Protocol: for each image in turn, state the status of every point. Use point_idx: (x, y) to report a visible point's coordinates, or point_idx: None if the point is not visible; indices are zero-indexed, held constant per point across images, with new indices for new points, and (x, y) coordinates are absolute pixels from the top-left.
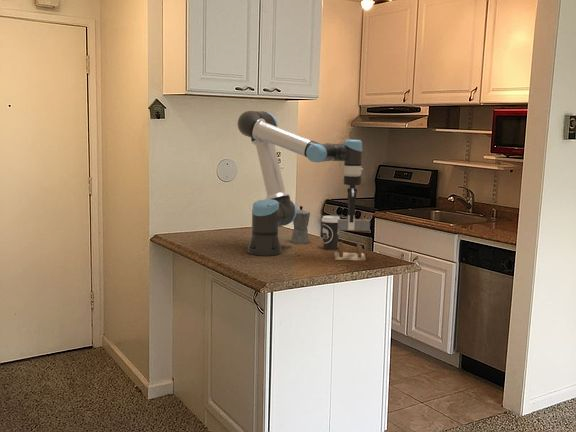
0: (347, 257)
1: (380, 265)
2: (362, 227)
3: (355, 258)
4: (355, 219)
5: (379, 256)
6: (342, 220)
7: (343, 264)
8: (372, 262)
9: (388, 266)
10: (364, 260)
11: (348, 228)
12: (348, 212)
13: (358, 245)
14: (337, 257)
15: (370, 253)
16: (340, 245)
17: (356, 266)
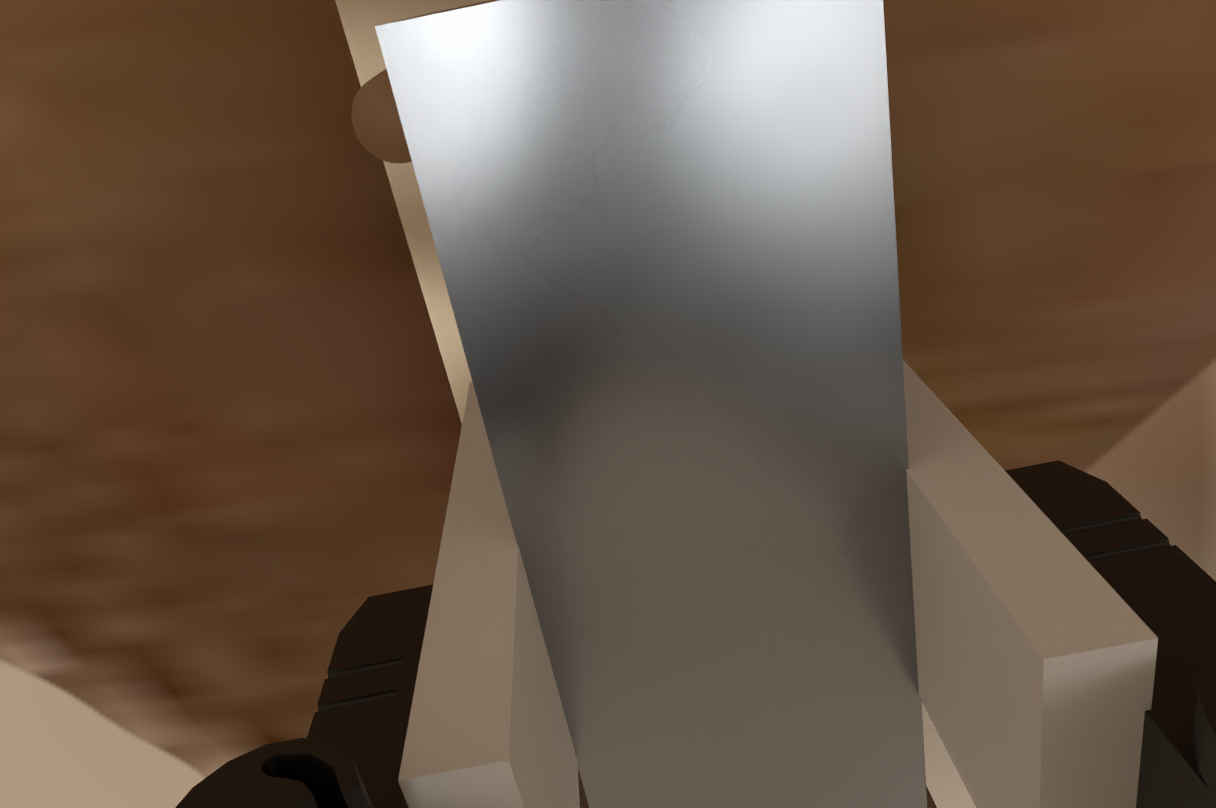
0: (412, 208)
1: (265, 655)
2: (582, 786)
3: (438, 334)
4: (903, 746)
5: None
6: (446, 286)
7: (22, 191)
8: (402, 553)
9: (259, 733)
10: None
11: (468, 415)
12: (1202, 712)
13: None
14: (343, 25)
15: (1024, 457)
16: (375, 95)
17: (9, 398)
